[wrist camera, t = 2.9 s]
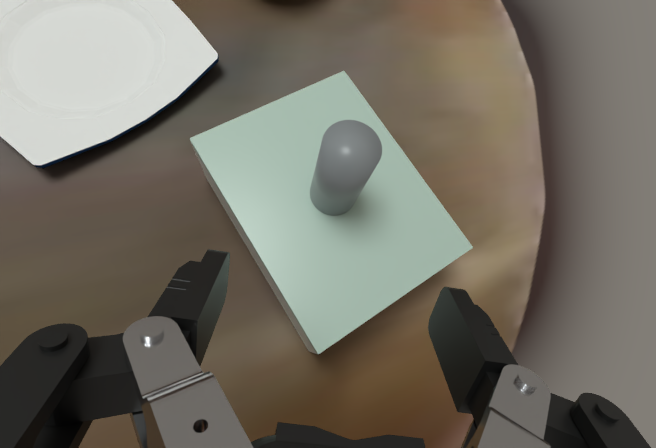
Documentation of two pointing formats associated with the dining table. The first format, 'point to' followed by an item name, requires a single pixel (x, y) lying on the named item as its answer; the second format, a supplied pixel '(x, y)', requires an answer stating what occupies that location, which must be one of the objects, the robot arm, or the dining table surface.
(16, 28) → the plate
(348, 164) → the lid
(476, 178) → the dining table surface
